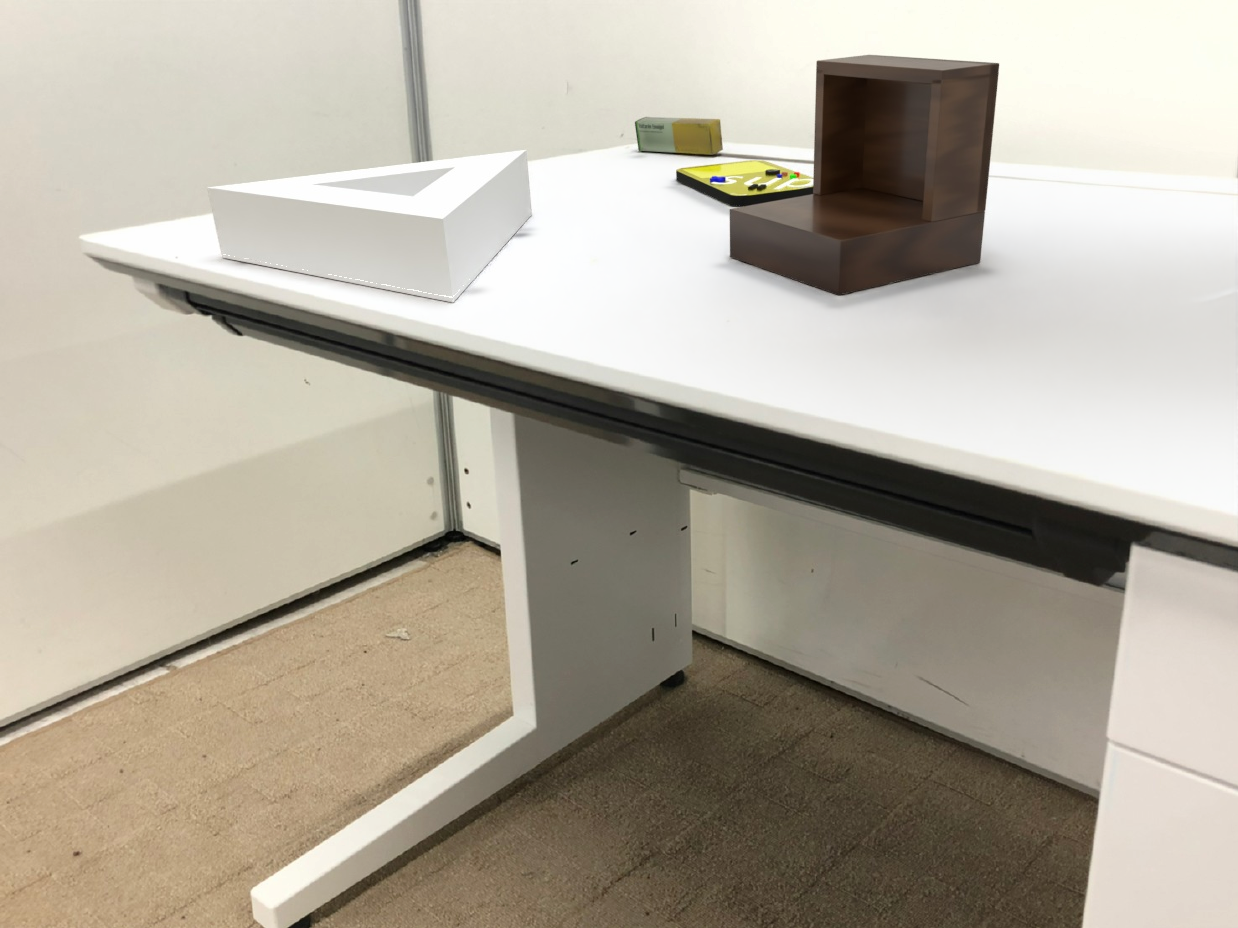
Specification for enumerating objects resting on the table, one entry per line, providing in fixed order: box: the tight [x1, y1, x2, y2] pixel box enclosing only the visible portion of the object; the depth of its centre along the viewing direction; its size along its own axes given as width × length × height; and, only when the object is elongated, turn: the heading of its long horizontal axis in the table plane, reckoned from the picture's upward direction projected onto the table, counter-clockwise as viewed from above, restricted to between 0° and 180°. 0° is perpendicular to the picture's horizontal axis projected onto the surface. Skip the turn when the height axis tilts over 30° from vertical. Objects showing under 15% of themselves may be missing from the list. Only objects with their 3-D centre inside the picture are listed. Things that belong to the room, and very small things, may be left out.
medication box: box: [634, 116, 724, 156], centre depth 134 cm, size 12×3×4 cm, turn 51°
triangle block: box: [206, 149, 533, 303], centre depth 96 cm, size 30×26×6 cm
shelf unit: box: [729, 54, 1000, 296], centre depth 82 cm, size 14×14×15 cm
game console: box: [675, 159, 813, 208], centre depth 113 cm, size 18×11×2 cm, turn 19°
